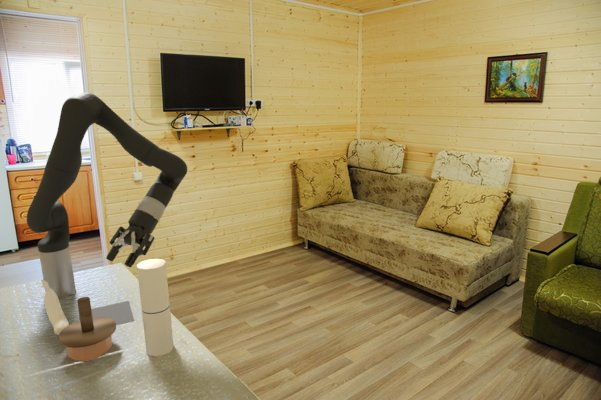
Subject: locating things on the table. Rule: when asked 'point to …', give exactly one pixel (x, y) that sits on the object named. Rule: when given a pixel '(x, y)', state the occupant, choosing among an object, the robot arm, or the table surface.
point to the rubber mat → (115, 312)
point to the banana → (54, 309)
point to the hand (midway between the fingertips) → (118, 263)
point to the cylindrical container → (155, 306)
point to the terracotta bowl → (89, 351)
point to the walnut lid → (86, 328)
